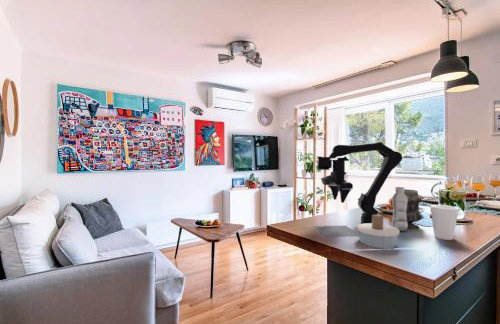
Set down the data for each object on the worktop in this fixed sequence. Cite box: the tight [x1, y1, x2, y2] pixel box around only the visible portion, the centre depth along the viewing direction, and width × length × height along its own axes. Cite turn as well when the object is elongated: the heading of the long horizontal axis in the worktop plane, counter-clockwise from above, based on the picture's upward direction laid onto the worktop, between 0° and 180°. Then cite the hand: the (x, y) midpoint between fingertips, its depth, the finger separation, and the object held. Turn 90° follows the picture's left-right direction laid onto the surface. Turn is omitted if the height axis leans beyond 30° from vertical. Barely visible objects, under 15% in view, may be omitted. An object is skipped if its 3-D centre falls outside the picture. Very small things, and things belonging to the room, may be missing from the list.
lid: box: [356, 214, 400, 237], centre depth 101 cm, size 15×15×6 cm
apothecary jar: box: [404, 188, 423, 230], centre depth 125 cm, size 12×12×18 cm
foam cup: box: [430, 204, 459, 241], centre depth 108 cm, size 10×9×13 cm
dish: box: [359, 231, 398, 250], centre depth 101 cm, size 13×13×5 cm
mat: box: [313, 225, 360, 238], centre depth 116 cm, size 16×16×1 cm
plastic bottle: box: [391, 186, 408, 232], centre depth 118 cm, size 6×7×20 cm
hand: (338, 201), depth 128 cm, fingers open, 9 cm apart
